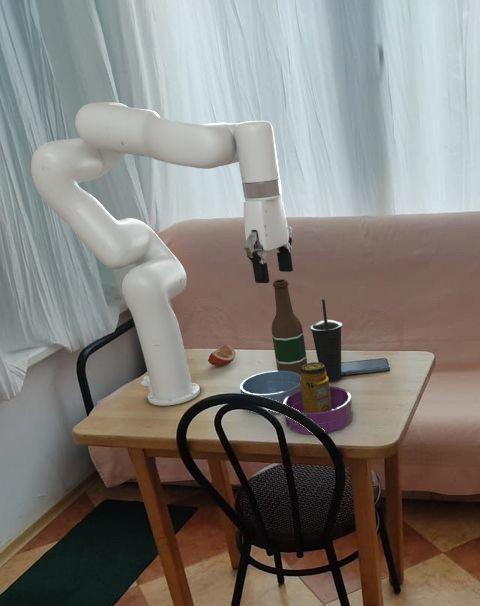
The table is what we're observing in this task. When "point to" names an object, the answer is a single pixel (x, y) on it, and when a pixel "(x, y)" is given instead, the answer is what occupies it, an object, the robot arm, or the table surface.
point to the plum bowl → (327, 419)
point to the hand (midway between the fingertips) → (274, 276)
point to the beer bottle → (287, 332)
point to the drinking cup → (328, 345)
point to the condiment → (315, 388)
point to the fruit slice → (222, 356)
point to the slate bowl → (272, 385)
